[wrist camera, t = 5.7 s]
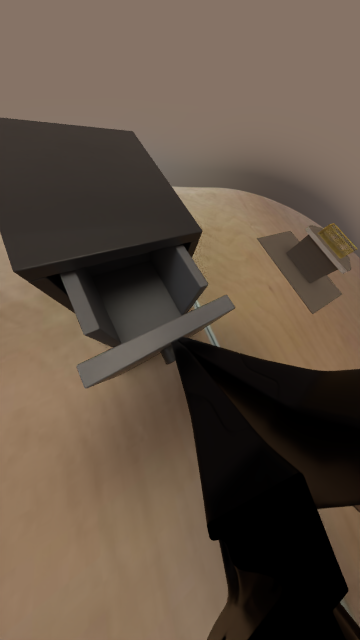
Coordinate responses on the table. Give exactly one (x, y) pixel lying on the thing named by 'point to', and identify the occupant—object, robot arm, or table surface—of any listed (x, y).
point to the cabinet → (82, 201)
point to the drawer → (139, 308)
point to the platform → (310, 262)
